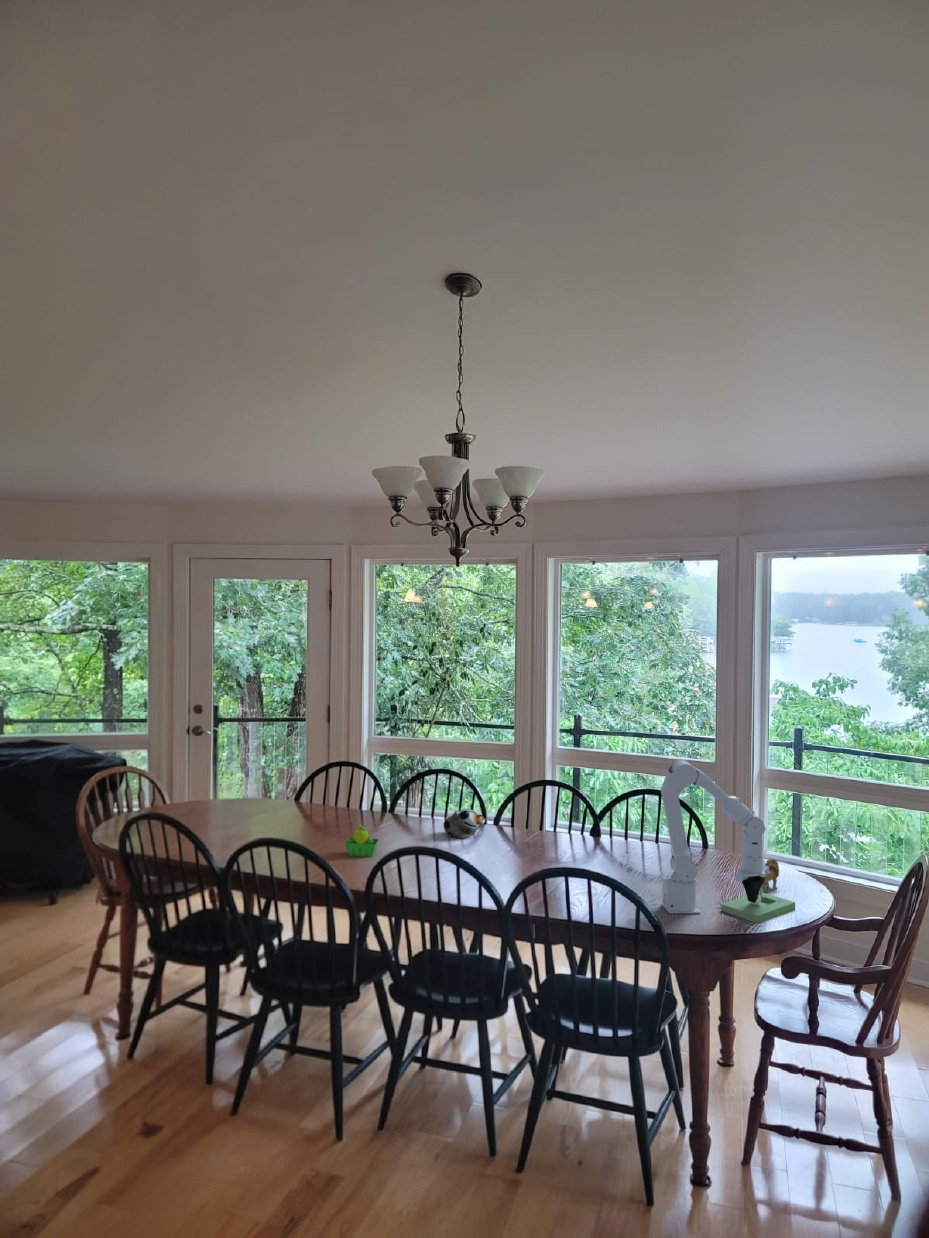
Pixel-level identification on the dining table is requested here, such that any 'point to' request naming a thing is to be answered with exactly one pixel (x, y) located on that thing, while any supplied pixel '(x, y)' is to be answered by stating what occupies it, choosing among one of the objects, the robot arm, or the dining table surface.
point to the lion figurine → (771, 874)
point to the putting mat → (758, 907)
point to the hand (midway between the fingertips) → (752, 901)
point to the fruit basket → (361, 844)
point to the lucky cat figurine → (463, 823)
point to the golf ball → (757, 901)
